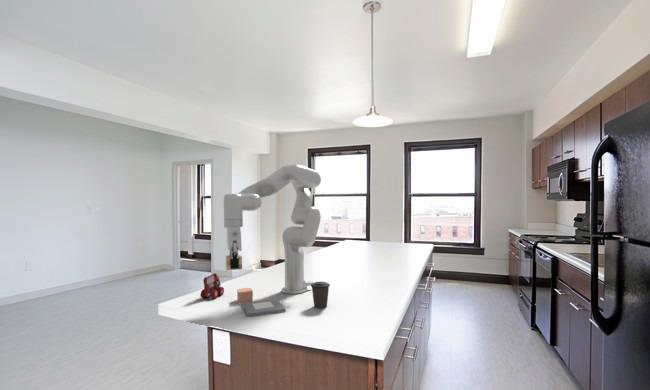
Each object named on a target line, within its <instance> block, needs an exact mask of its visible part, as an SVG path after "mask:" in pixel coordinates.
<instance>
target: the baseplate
mask: <svg viewBox="0 0 650 390" xmlns="http://www.w3.org/2000/svg"><path fill="white" fill-rule="evenodd" d="M241 305H242V309H243V310H244V313H245V316H246V317H247V318H249V317H256V316H263V315H264V316H265V315H270V314H277V313H278V314H279V313H285V312H286V307H285V306H284V305H283V303H282V302H280V300H279V299H278V298H277V297H276V298H269V299H262V300H261V299H260V300H253V301H251V302H243V303H241Z"/></svg>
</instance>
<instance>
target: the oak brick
mask: <svg viewBox="0 0 650 390" xmlns="http://www.w3.org/2000/svg"><path fill="white" fill-rule="evenodd" d="M238 258H239V268H237V269H231V266H230V259H231V255H230V254H229V255H225V270H226V271H234V270H235V271H236V270H242V269H243V256H242V255H241V254H238Z"/></svg>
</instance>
